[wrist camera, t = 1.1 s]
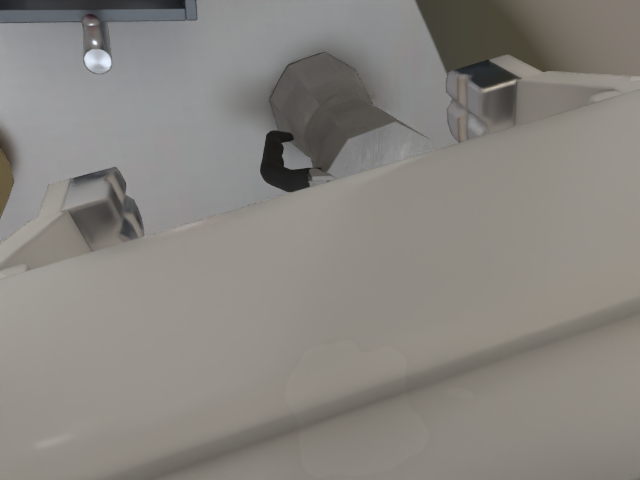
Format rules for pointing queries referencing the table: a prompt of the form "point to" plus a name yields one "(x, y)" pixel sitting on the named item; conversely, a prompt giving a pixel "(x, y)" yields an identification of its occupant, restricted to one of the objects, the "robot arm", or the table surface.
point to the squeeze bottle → (5, 181)
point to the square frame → (96, 19)
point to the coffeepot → (331, 126)
